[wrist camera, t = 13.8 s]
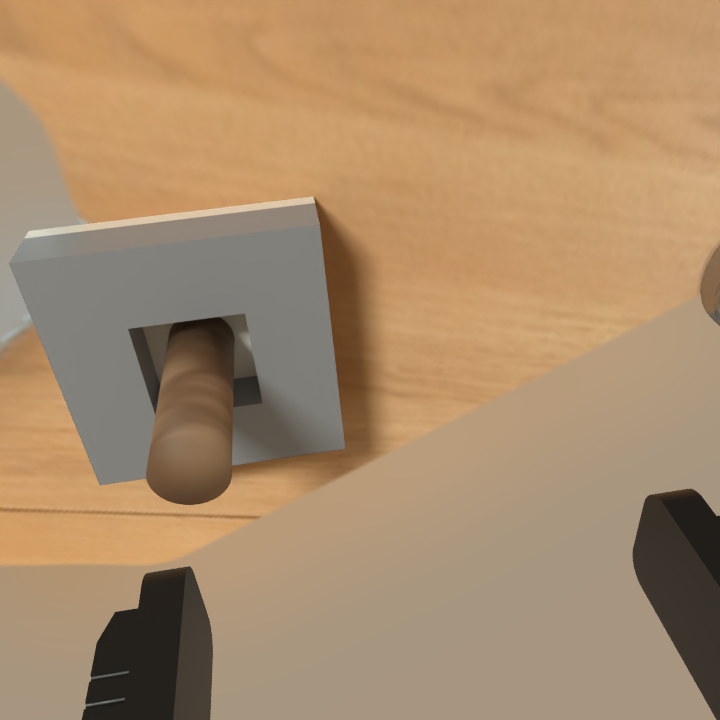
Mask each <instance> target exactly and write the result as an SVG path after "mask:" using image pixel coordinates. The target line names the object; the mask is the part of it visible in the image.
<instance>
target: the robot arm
mask: <svg viewBox="0 0 720 720" xmlns="http://www.w3.org/2000/svg"><path fill="white" fill-rule="evenodd" d="M701 298H702V303H703V306H704V308H705V310H706V312H707V313H708V314H709V316H710V317H711V318H712V319H713V320H714V321H715V322H716V323H717V324H719V326H720V246H719V248H718V249H717V250H716V251H715V253H714V254H713V256H712V258H711V260H710V261H709V263H708V265H707V267H706V270H705V273H704V276H703V278H702V285H701ZM633 563H634V569H635V572H636V575H637V578H638V581H639V583H640V585H641V587H642V589H643V590H644V592H645V594H646V596H647V598H648V599H649V601H650V603H651V605H652V606H653V608H654V610H655V612H656V613H657V615H658V617H659V619H660V620H661V622H662V624H663V626H664V628H665V629H666V631H667V633H668V635H669V636H670V638H671V640H672V641H673V643H674V645H675V647H676V649H677V650H678V652H679V654H680V656H681V657H682V659H683V661H684V663H685V665H686V666H687V668H688V670H689V672H690V674H691V675H692V677H693V679H694V681H695V682H696V684H697V686H698V688H699V689H700V691H701V693H702V695H703V696H704V698H705V700H706V702H707V704H708V705H709V707H710V709H711V711H712V712H713V714H714V716H715V718H716V719H717V720H720V516H716V515H715V514H714V512H713V511H712V510H711V508H710V507H709V506H708V504H707V503H706V502H705V500H704V499H703V497H702V496H701V495H700V494H699V493H697V492H696V491H695V490H693V489H685V490H678V491H672V492H666V493H659V494H654V495H649V496H648V497H647V498H646V499H645V502H644V506H643V510H642V514H641V518H640V522H639V527H638V531H637V535H636V540H635V543H634V547H633ZM212 659H213V646H212V633H211V626H210V621H209V618H208V615H207V611H206V608H205V605H204V602H203V599H202V597H201V593H200V590H199V587H198V584H197V581H196V578H195V575H194V573H193V570H192V568H191V567H183V568H177V569H170V570H164V571H158V572H152V573H147V574H145V576H144V578H143V581H142V586H141V594H140V600H139V607H138V609H132V610H126V611H119V612H115V613H114V615H113V617H112V618H111V620H110V622H109V623H108V625H107V627H106V628H105V630H104V632H103V633H102V635H101V637H100V638H99V640H98V642H97V645H96V650H95V656H94V660H93V666H92V671H91V682H89V686H88V692H87V697H86V702H85V703H86V709H85V710H84V712H83V717H82V720H210V710H211V685H212Z"/></svg>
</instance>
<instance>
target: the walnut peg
mask: <svg viewBox="0 0 720 720" xmlns="http://www.w3.org/2000/svg"><path fill="white" fill-rule="evenodd" d="M234 342H235V339H234V334H233V331H232V329H231V327H230V326H229V324H228V323H227V322H226V321H225V320H223V319H222V318H220V317H214V318H206V319H199V320H191V321H184V322H176V323H174V324H173V326H172V327H171V329H170V332H169V337H168V343H167V349H166V355H165V361H164V367H163V373H162V379H161V385H160V391H159V397H158V403H157V409H156V415H155V421H154V427H153V433H152V439H151V445H150V451H149V457H148V463H147V469H146V479H147V482H148V484H149V486H150V488H151V489H152V490H153V491H154V492H155V493H156V494H157V495H158V496H160V497H161V498H163V499H165V500H167V501H170V502H173V503H177V504H184V505H194V504H201V503H205V502H208V501H211V500H213V499H215V498H217V497H218V496H220V495H221V494H222V493H223V492H224V491H225V490H226V489H227V488H228V486H229V484H230V482H231V478H232V439H233V390H234Z"/></svg>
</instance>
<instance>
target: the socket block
mask: <svg viewBox="0 0 720 720" xmlns="http://www.w3.org/2000/svg"><path fill="white" fill-rule="evenodd" d="M9 264H10V267H11V269H12V272H13V274H14V277H15V279H16V282H17V284H18V287H19V289H20V291H21V294H22V296H23V299H24V301H25V304H26V306H27V309H28V311H29V313H30V316H31V318H32V321H33V323H34V326H35V328H36V331H37V333H38V335H39V338H40V340H41V343H42V345H43V348H44V350H45V353H46V355H47V357H48V360H49V362H50V365H51V367H52V370H53V372H54V375H55V377H56V379H57V382H58V384H59V387H60V389H61V392H62V394H63V397H64V399H65V401H66V404H67V406H68V409H69V411H70V414H71V416H72V419H73V421H74V423H75V426H76V428H77V431H78V433H79V436H80V438H81V440H82V443H83V445H84V448H85V450H86V453H87V455H88V458H89V460H90V462H91V465H92V467H93V470H94V472H95V475H96V477H97V480H98V482H99V484H100V485H106V484H112V483H119V482H126V481H132V480H139V479H146V469H147V463H148V457H149V451H150V445H151V439H152V433H153V427H154V421H155V415H156V409H157V403H158V397H159V391H160V385H161V379H162V373H163V367H164V361H165V355H166V349H167V343H168V337H169V332H170V329H171V327H172V326H173V324H174V323H176V322H184V321H191V320H199V319H206V318H214V317H220V318H222V319H223V320H225V321H226V322H227V323H228V324H229V326H230V327H231V329H232V331H233V334H234V339H235V342H234V390H233V439H232V466H233V465H240V464H247V463H253V462H260V461H267V460H274V459H280V458H287V457H294V456H301V455H307V454H314V453H321V452H327V451H334V450H341V449H345V442H344V433H343V424H342V415H341V407H340V398H339V389H338V380H337V371H336V363H335V354H334V345H333V336H332V327H331V319H330V310H329V301H328V292H327V283H326V275H325V266H324V257H323V248H322V239H321V231H320V223H319V219H318V214H317V210H316V205H315V201H314V196H313V197H305V198H297V199H288V200H280V201H272V202H264V203H255V204H247V205H239V206H231V207H223V208H214V209H206V210H198V211H190V212H181V213H173V214H165V215H157V216H149V217H140V218H132V219H124V220H116V221H107V222H99V223H91V224H83V225H75V226H67V227H58V228H50V229H42V230H33V231H29V232H28V233H27V235H26V237H25V238H24V240H23V241H22V243H21V245H20V246H19V248H18V250H17V251H16V253H15V255H14V256H13V258H12V259H11V261H10V262H9Z"/></svg>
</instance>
